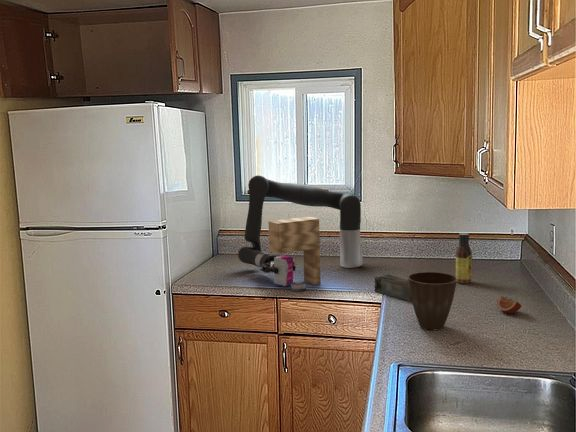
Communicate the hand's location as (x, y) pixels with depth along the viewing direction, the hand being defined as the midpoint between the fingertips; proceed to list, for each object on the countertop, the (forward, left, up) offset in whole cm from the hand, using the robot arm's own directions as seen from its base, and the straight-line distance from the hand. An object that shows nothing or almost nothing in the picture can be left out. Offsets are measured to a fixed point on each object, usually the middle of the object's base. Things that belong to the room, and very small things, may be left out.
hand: (286, 269), depth 238 cm
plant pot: (-15, +68, -7) cm, 70 cm away
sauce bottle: (-62, +36, -7) cm, 72 cm away
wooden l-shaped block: (-4, 0, -7) cm, 8 cm away
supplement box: (0, -2, -7) cm, 7 cm away
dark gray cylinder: (-1, +7, -7) cm, 10 cm away
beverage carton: (-29, +35, -8) cm, 46 cm away
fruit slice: (-46, +72, -7) cm, 85 cm away
